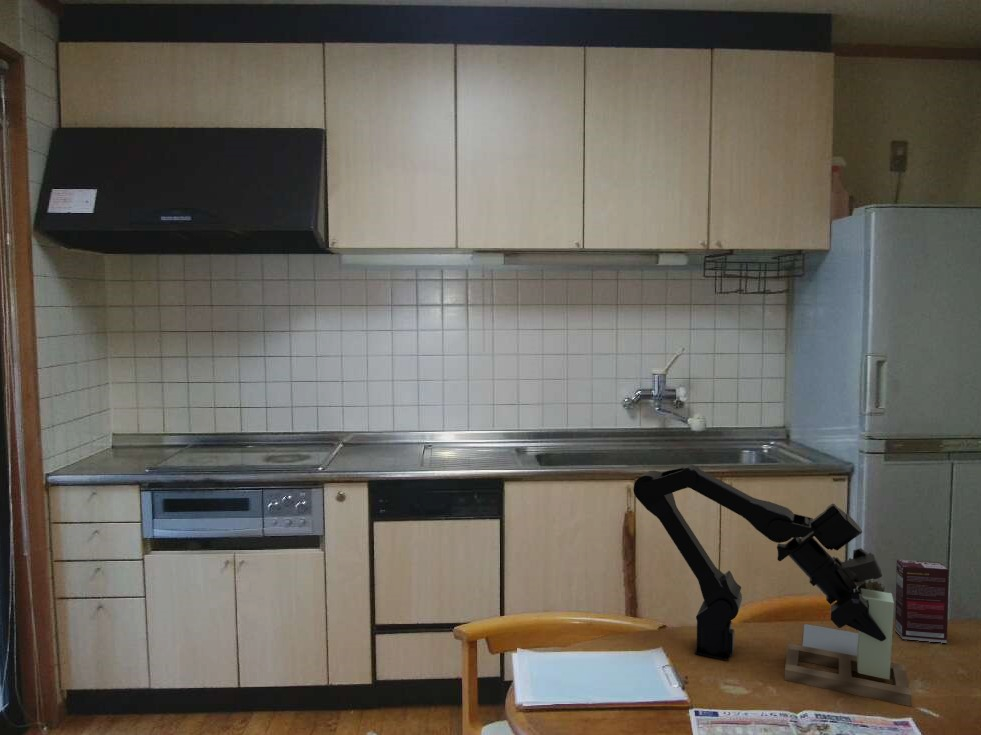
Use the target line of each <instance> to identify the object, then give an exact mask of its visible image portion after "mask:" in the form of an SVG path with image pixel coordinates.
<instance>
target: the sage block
mask: <svg viewBox="0 0 981 735" xmlns="http://www.w3.org/2000/svg"><path fill="white" fill-rule="evenodd" d="M861 596H862V597H863V598H864V599H865V601H866V600H868V601H869V613H870V615H871V616H872V618H873V619H874V620H875V622H876V623H877V625H878V626H879V627H880V629H881V630H882V632H883V633H884V635H885V636H886V639H885V640H884V641H879V640H877V639H875V638H873V637H871V636H869V635H867V634H865V633H863V632H861V631H859V630H857V631H858V632H857V633H858V650H857V669H858V672H857V673H858V674H862V675H865V676H871V677H876V678H880V679H885V680H890V679H891V678H890V663H891V662H892V643H893V626H894V606H895V602H894V596H893V594H892V593H891V592H885V591H884V592H880V591H874V590H868V589H862V588H861Z"/></svg>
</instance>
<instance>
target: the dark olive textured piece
mask: <svg viewBox="0 0 981 735" xmlns="http://www.w3.org/2000/svg"><path fill="white" fill-rule="evenodd" d="M864 583H866V587H867V589H868V590H874V591H880V592H885V588H886V586H885V585H884V586H883V587H882V583H881V582H880V583H879V581H878V580H875V581H872V579H869V580H865V581H862V582H856V584H857V586H858V587H859V586H861V585H862V584H864Z"/></svg>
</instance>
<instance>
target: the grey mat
mask: <svg viewBox="0 0 981 735" xmlns="http://www.w3.org/2000/svg"><path fill="white" fill-rule="evenodd" d="M801 646H806V647H811V648H817V649H822V650H827V651H833V652H838V653H844V654H849V655H854V656H857V650H858V632H853V631H847V630H841V629H836V628H835V629H834V628H830V627H824V626H819V625H812V624H806V623H804V625H803V636H802V644H801Z"/></svg>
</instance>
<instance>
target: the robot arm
mask: <svg viewBox="0 0 981 735" xmlns="http://www.w3.org/2000/svg"><path fill="white" fill-rule="evenodd" d="M688 488H689V489H691V490H693V491H695V492H696V493H698V494H700V495H702V496H704V497H706V498H708V499H709V500H711V501H713V502H715V503H717V504H719V505H720V506H722V507H724V508H726V509H728V510H729V511H731V512H733V513H735V514H737V515H738V516H740V517H742V518H743V519H745V520H746V521H747V522H748V523H749V524H750V525H751V526H752V527H754V529H755V530H756V531H758V532H759V533H760V534H762V535H763V536H764V537H766V538H767V539H768V540H770V541H771V542H774V543H776V544H777V546H776V549H777V558H776V559H777V561H778V562H782V561H783V560H784V559H786V558H787V557H789V558H790V559H791V560H792V561H793V562H794V564H796V565H797V567H798V568H800V570H802V572H803V573H804V574H805V575H806V576H807V577H808V578H809V583H810V584H811V585H812V587H815V586H816V587H817V588H818V589H819V590H820V592H822V593H823V594H824V595H825V598H826V599H825V601H826V602H828V604H829V605H830V621H832V623H834V625H835V626H836V627H837V628H838V629H841V628H843V627H844V626H847V627H850V628H851V629H854V630H856V631H861V632H863V633H865V634H867V635H869V636H871V637H873V638H875V639H877V640H879V641H884V640H885V639H886V636H885V635H884V633H883V632H882V630H881V629H880V627H879V626H878V625H877V623H876V622H875V620H874V619H873V618H872V616H871V615H870V613H869V601H868V600H866V601H865V599H864V598H863V597H862V596H861V588H862V589H867V587H866V583H864V584H862V585H861V586H859V587H858V586H857V584H856V582H862V581H869V580H872V579H873V580H877V579H881V578H882V576H883V574H882V570H881V568H880V566H879V563H878V560H877V558H876V557H875V555H874V553H872V552H869V553H867V551H865V550H864V549H863V548H862V547H861V548H860V547H859V548H856V549H853V553H852V558H851V557H850V558H848V559H847V560H845V561H842V560H840V559H839V558H838V557H835V556H833V557H832V556H831V555H830V553H829V552H828V551H827V550H830V551H833V550H834V551H840V549H842V548H843V547H844V546H846V545H847V544H848V543H850V542H851V541H853V540H854V539H855V538H857V537H858V536H860V535H861V534H862V533H863V530H862V529H861V527H860V525H859V524H858V523H857V522H856V521H855V519H854V518H853V517H851V516H850V514H848V513H846V512H845V511H843V509H841V508H840V507H838V506H837V505H836V504H835V503H831V504H830V505H828V506H827V507H826V509H825V510H824V511H823V512H822V513H820V514H818V515H817V516H816V517H815V518H813V517H810V516H805V515H802V514H798V513H794V511H792V510H791V509H790V508H789V507H786V506H783V505H780V504H777V503H774V502H771V501H769V500H768V501H767V500H763V499H759V498H755V497H752V496H751V495H749V494H747V493H745V492H743V491H741V490H740V489H738V488H736V487H734V486H732V485H731V484H728V483H727V482H724V481H722V480H721V479H719V478H717V477H715V476H713V475H711V474H709V473H707V472H705V471H704V470H702V469H700V468H699V467H698V466H697V465H694V464H689V465H686V466H683V467H679V468H675V469H674V468H673V469H669V470H665V471H662V472H661V471H657V470H649V471H647V472H645V473H643V474H642V475H640V476H639V477H638V478H637V479H636V480H635V482H634V483H633V489H632V490H633V494H634V497H635V498H636V499H637V500H638V501H639V503H640V504H641V505H642V506H643V507H644V508H645V509H646V510H647V511H648V512H649V513H651V514H652V515H654V516H655V517H656V519H658V520H659V521H660V523H661V524H662V526H663V528H664V530H665V531H666V533H667V534H668V536H669V537H670V538H671V540H672V543H674V545H675V546H676V548H677V550H678V551H679V553H680V555H681V556H682V558H683V559H684V560H685V562H686V564H687V565H688V567H689V569H690V570H691V572H692V573H693V575H694V576H695V578H696V579H697V581H698V585H699V588H700V591H701V595H702V599H703V601H702V604H701V605H700V608H699V609H698V612H697V613H696V616H695V619H696V647H695V649H694V654H695V655H699V656H703V657H708V658H712V659H718V660H723V661H729V660H730V657H731V655H733V653H734V650H735V629H733V628H732V621H733V620H734V619H736V617H737V615H738V614H739V610H740V608H741V604H742V601H743V595H742V591H741V590H742V586H741V585H739V584H738V583H737V582H736V580H735V578H734V575H733V573H732V572H731V570H728V571H727V572H725V573H723V572H722V571H721V570H720V569H718V568H717V566H716V565H715V564H714V562H713V561H712V559H711V558H710V556H709V554H708V553H707V552H706V550H705V548H704V547H703V546H702V544H701V543H700V540H699V539H698V538H697V536H696V535H695V533H694V531H693V530H692V528H691V527H690V526H689V523H688V522H687V520H686V519H685V517H684V516H683V514H682V513H681V512H680V510H679V509H678V507H677V503H676V501H675V497H674V493H675V492H679V491H682V490H684V489H688ZM822 546H823V547H822ZM826 549H827V550H826Z"/></svg>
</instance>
